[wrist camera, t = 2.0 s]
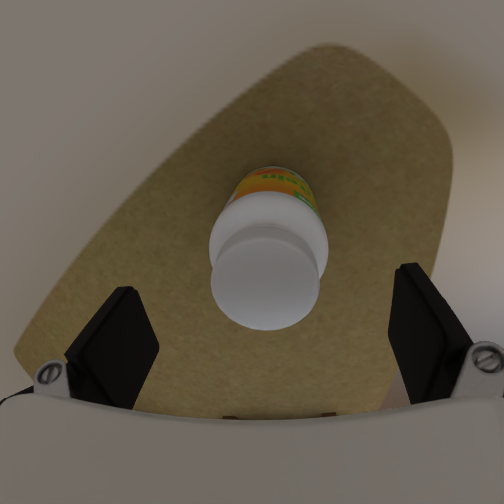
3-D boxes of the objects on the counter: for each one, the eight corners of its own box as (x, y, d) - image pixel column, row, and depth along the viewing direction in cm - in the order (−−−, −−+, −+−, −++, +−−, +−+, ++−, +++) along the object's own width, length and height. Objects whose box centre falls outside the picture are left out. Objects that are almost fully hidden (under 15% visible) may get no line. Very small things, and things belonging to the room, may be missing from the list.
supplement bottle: (329, 189, 18) (369, 261, 10) (290, 255, 21) (293, 360, 12) (253, 150, 18) (224, 190, 9) (219, 222, 20) (173, 311, 12)
